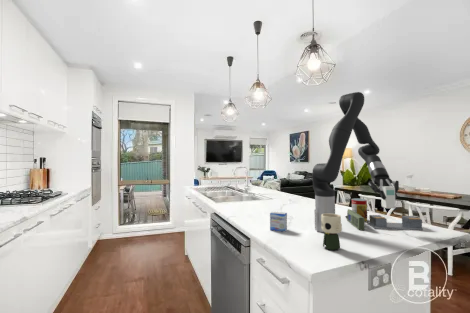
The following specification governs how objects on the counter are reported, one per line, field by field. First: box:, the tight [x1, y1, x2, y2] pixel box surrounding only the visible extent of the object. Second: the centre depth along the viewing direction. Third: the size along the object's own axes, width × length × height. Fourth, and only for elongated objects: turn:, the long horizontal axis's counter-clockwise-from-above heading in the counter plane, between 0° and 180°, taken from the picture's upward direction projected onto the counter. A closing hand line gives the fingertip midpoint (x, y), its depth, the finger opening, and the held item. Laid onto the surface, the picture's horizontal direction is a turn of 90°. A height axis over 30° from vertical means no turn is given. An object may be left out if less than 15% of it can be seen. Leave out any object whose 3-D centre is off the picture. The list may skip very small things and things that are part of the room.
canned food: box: [351, 197, 368, 223], centre depth 136 cm, size 8×8×12 cm
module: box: [380, 186, 396, 210], centre depth 113 cm, size 4×5×10 cm
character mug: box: [321, 213, 343, 251], centre depth 92 cm, size 11×7×13 cm, turn 18°
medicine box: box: [269, 211, 288, 232], centre depth 118 cm, size 8×4×9 cm, turn 68°
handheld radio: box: [345, 208, 365, 231], centre depth 128 cm, size 7×3×25 cm
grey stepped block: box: [366, 214, 424, 231], centre depth 121 cm, size 22×9×5 cm, turn 81°
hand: (390, 198), depth 111 cm, fingers closed on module, 4 cm apart
